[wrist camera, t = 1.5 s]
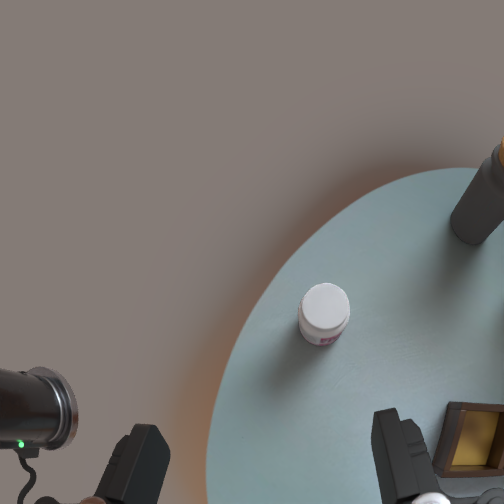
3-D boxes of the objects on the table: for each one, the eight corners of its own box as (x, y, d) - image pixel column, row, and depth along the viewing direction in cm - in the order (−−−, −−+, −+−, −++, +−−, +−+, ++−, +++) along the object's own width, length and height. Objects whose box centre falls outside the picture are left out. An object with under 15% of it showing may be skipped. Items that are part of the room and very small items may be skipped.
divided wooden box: (526, 466, 21) (542, 470, 17) (429, 470, 25) (441, 477, 21) (542, 405, 23) (558, 405, 20) (448, 401, 27) (462, 402, 24)
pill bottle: (323, 355, 32) (327, 346, 25) (290, 326, 34) (284, 308, 27) (352, 322, 33) (365, 302, 26) (319, 294, 35) (322, 267, 27)
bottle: (468, 253, 33) (528, 186, 20) (442, 216, 36) (487, 138, 22) (494, 232, 34) (551, 165, 20) (469, 198, 36) (514, 123, 22)
